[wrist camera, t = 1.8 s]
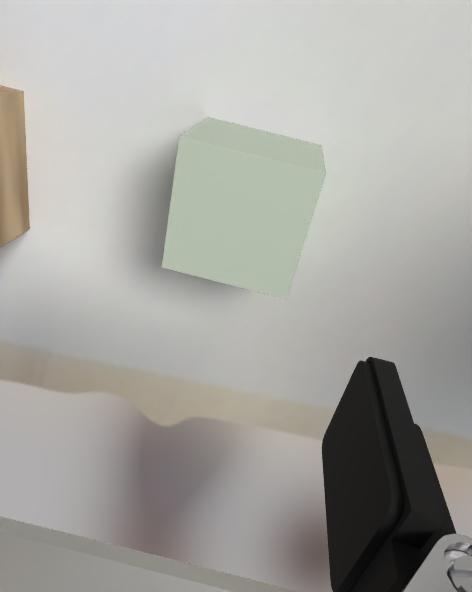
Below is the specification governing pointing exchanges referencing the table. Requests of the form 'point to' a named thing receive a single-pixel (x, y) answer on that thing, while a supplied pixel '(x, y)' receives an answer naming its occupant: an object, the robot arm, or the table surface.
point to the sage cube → (241, 205)
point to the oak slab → (13, 166)
